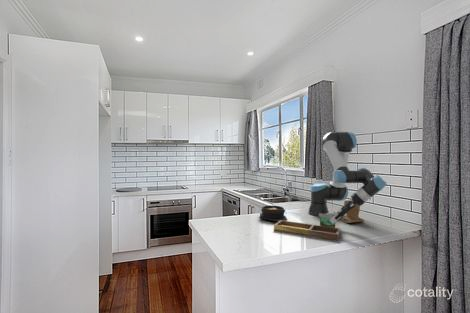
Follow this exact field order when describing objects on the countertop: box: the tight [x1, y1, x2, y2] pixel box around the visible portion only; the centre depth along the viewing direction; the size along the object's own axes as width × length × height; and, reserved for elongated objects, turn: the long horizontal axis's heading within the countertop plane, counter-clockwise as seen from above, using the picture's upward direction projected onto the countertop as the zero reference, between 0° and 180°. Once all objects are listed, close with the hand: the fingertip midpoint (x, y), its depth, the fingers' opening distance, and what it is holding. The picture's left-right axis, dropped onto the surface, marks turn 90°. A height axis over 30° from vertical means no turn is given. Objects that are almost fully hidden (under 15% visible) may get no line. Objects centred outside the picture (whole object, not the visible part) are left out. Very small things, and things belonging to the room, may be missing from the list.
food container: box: [318, 211, 337, 228], centre depth 155 cm, size 12×6×10 cm, turn 109°
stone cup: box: [340, 199, 365, 224], centre depth 174 cm, size 15×12×15 cm
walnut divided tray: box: [273, 220, 341, 242], centre depth 148 cm, size 13×36×4 cm, turn 62°
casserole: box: [259, 205, 288, 222], centre depth 178 cm, size 25×19×8 cm
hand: (332, 219), depth 154 cm, fingers open, 13 cm apart
